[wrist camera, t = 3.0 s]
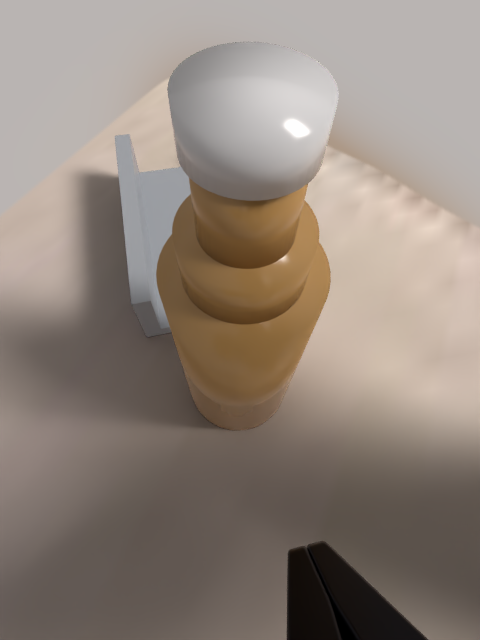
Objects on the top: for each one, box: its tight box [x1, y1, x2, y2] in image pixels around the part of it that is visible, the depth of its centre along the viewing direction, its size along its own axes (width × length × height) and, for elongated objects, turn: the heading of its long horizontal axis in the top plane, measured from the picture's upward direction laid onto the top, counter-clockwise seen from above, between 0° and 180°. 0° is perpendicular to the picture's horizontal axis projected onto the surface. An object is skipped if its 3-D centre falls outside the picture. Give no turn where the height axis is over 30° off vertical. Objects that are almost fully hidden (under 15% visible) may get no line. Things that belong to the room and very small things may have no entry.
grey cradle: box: [115, 134, 191, 337], centre depth 20 cm, size 11×8×3 cm
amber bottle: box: [156, 42, 339, 430], centre depth 11 cm, size 4×4×14 cm
